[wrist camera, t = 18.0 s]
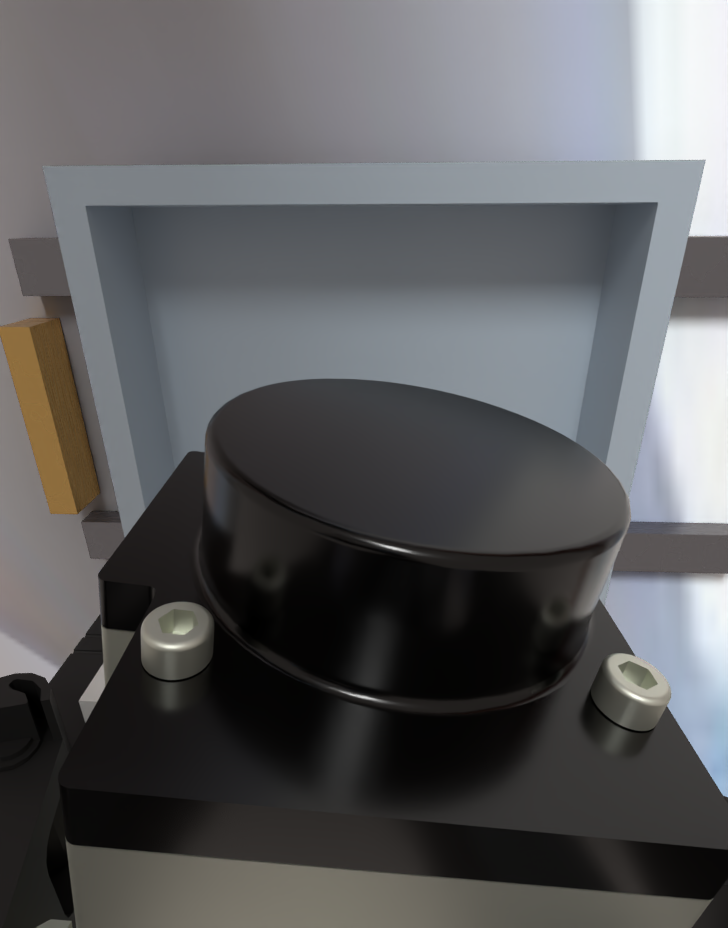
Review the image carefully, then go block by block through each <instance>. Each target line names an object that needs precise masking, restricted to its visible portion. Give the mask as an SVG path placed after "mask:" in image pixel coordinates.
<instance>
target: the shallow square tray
mask: <svg viewBox="0 0 728 928" xmlns="http://www.w3.org/2000/svg"><path fill="white" fill-rule="evenodd" d="M704 165H705V160H642V161H533V162H424V163H314V164H205V165H96V166H42V167H43V172H44V176H45V181H46V185H47V190H48V194H49V199H50V203H51V208H52V212H53V217H54V221H55V226H56V230H57V235H58V239H59V244H60V248H61V253H62V257H63V262H64V266H65V271H66V276H67V280H68V285H69V289H70V294H71V298H72V303H73V307H74V312H75V316H76V321H77V325H78V330H79V334H80V339H81V343H82V348H83V352H84V357H85V361H86V366H87V370H88V375H89V379H90V384H91V388H92V393H93V397H94V402H95V406H96V411H97V415H98V420H99V424H100V429H101V433H102V438H103V442H104V447H105V451H106V456H107V460H108V465H109V469H110V474H111V478H112V483H113V487H114V492H115V496H116V501H117V505H118V510H119V514H120V519H121V523H122V528H123V532H124V537H126V535H127V534H128V533H129V531H130V530H131V529H132V527H133V526H134V525H135V523H136V522H137V521H138V519H139V518H140V517H141V515H142V514H143V512H144V511H145V510H146V508H147V507H148V506H149V504H150V503H151V502H152V500H153V499H154V498H155V496H156V495H157V494H158V492H159V491H160V489H161V488H162V487H163V485H164V484H165V483H166V481H167V480H168V479H169V477H170V476H171V475H172V473H173V472H174V471H175V469H176V468H177V466H178V465H179V464H180V462H181V461H182V460H183V458H184V457H185V456H186V454H187V453H188V452H190V451H199V452H204V451H205V433H206V430H207V426H208V423H209V421H210V420H211V418H212V416H213V415H214V414H215V413H216V412H217V411H218V410H219V409H220V408H221V407H222V406H223V405H224V404H225V403H226V402H228V401H230V400H231V399H233V398H235V397H237V396H238V395H240V394H242V393H245V392H248V391H250V390H253V389H256V388H259V387H262V386H266V385H270V384H275V383H280V382H287V381H295V380H305V379H325V378H327V379H361V380H375V381H384V382H393V383H400V384H407V385H413V386H419V387H424V388H429V389H435V390H439V391H444V392H448V393H452V394H456V395H460V396H464V397H468V398H471V399H475V400H478V401H482V402H485V403H488V404H491V405H494V406H497V407H501V408H503V409H506V410H509V411H512V412H514V413H517V414H519V415H522V416H524V417H527V418H529V419H532V420H534V421H536V422H538V423H541V424H543V425H545V426H547V427H549V428H551V429H553V430H555V431H557V432H559V433H561V434H563V435H564V436H566V437H568V438H570V439H571V440H573V441H575V442H576V443H578V444H579V445H581V446H582V447H584V448H585V449H587V450H588V451H590V452H591V453H592V454H593V455H595V456H596V457H597V458H599V459H600V460H601V461H602V462H603V463H604V464H605V465H606V466H608V467H609V468H610V470H611V471H612V472H613V473H614V474H615V476H616V477H617V478H618V479H619V480H620V482H621V483H622V485H623V487H624V489H625V491H626V493H627V495H628V497H629V495H630V491H631V487H632V482H633V478H634V473H635V469H636V465H637V460H638V456H639V451H640V447H641V442H642V438H643V434H644V429H645V425H646V420H647V416H648V412H649V407H650V403H651V398H652V394H653V390H654V385H655V381H656V376H657V372H658V368H659V363H660V359H661V354H662V350H663V346H664V341H665V337H666V332H667V328H668V324H669V319H670V315H671V310H672V306H673V301H674V297H675V293H676V288H677V284H678V279H679V275H680V271H681V266H682V262H683V257H684V253H685V249H686V244H687V240H688V235H689V231H690V227H691V222H692V218H693V213H694V209H695V205H696V200H697V196H698V191H699V187H700V183H701V178H702V174H703V169H704ZM613 566H614V564H613ZM612 570H613V567H612V569H611V572H610V574H609V576H608V579H607V581H606V584H605V586H604V588H603V591H602V593H601V596H600V598H599V599H600V600H601V602H602V604H603V605H604V606H605V601H606V597H607V592H608V588H609V583H610V579H611V575H612Z"/></svg>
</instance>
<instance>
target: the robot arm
mask: <svg viewBox="0 0 728 928" xmlns="http://www.w3.org/2000/svg"><path fill="white" fill-rule="evenodd" d="M104 688H105V678H104V662H103V645H102V629H101V614H100V615H99V616H98V618H97V619H96V621H95V622H94V623H93V625H92V626H91V627H90V629H89V630H88V631H87V633H86V636H85V638H82V639H81V641H80V642H79V643H78V645H77V646H76V647H75V649H74V653H73V654H70V656H69V657H68V658H67V660H66V661H65V662H64V664H63V665H62V666H61V668H60V669H59V670H58V672H57V673H56V674H55V676H54V677H53V679H52V680H51V681H50V683H48V682H47V680H46V679H45V678H44V677H41V676H38V675H36V674H33V673H22V674H21V673H19V674H12V675H9V676H5V677H1V678H0V928H36V927H37V926H39V925H41V924H43V923H45V922H46V921H48V920H50V919H53V920H66V921H72V928H76V921H75V912H74V904H73V896H72V888H71V880H70V872H69V863H68V855H67V847H66V839H65V831H64V823H63V814H62V806H61V798H60V790H59V782H58V774H59V771H60V769H61V767H62V765H63V763H64V762H65V760H66V758H67V756H68V754H69V752H70V751H71V749H72V747H73V745H74V743H75V741H76V740H77V738H78V736H79V734H80V732H81V730H82V729H83V727H84V725H85V723H86V721H87V719H88V718H89V716H90V714H91V712H92V710H93V708H94V707H95V705H96V703H97V701H98V699H99V697H100V696H101V694H102V692H103V690H104ZM723 797H724V798H725V800H726V801H727V803H728V797H725V796H723ZM692 928H728V879H727V881H726V882H725V883H724V885H723V886H722V887H721V889H720V890H719V891H718V893H717V894H716V895H715V897H714V898H713V899H712V901H711V902H710V904H709V905H708V906H707V908H706V909H705V910H704V912H703V913H702V914H701V916H700V917H699V918H698V920H697V921H696V922H695V924H694V925H693V927H692Z"/></svg>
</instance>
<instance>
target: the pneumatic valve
mask: <svg viewBox="0 0 728 928" xmlns="http://www.w3.org/2000/svg"><path fill="white" fill-rule="evenodd" d="M630 521H631V510H630V501H629V497H628V495H627V493H626V491H625V489H624V487H623V485H622V483H621V482H620V480H619V479H618V478H617V477H616V476H615V474H614V473H613V472H612V471H611V470H610V468H609V467H608V466H606V465H605V464H604V463H603V462H602V461H601V460H600V459H599V458H597V457H596V456H595V455H593V454H592V453H591V452H590V451H588V450H587V449H585V448H584V447H582V446H581V445H579V444H578V443H576V442H575V441H573V440H571V439H570V438H568V437H566V436H564V435H563V434H561V433H559V432H557V431H555V430H553V429H551V428H549V427H547V426H545V425H543V424H541V423H538V422H536V421H534V420H532V419H529V418H527V417H524V416H522V415H519V414H517V413H514V412H512V411H509V410H506V409H503V408H501V407H497V406H494V405H491V404H488V403H485V402H482V401H478V400H475V399H471V398H468V397H464V396H460V395H456V394H452V393H448V392H444V391H439V390H435V389H429V388H424V387H419V386H413V385H407V384H400V383H393V382H384V381H375V380H361V379H327V378H325V379H305V380H295V381H287V382H280V383H275V384H270V385H266V386H262V387H259V388H256V389H253V390H250V391H248V392H245V393H242V394H240V395H238V396H237V397H235V398H233V399H231V400H230V401H228V402H226V403H225V404H224V405H223V406H222V407H221V408H220V409H219V410H218V411H217V412H216V413H215V414H214V415H213V416H212V418H211V420H210V421H209V423H208V426H207V430H206V433H205V451H204V452H199V451H190V452H188V453H187V454H186V456H185V457H184V458H183V460H182V461H181V462H180V464H179V465H178V466H177V468H176V469H175V471H174V472H173V473H172V475H171V476H170V477H169V479H168V480H167V481H166V483H165V484H164V485H163V487H162V488H161V489H160V491H159V492H158V494H157V495H156V496H155V498H154V499H153V500H152V502H151V503H150V504H149V506H148V507H147V508H146V510H145V511H144V512H143V514H142V515H141V517H140V518H139V519H138V521H137V522H136V523H135V525H134V526H133V527H132V529H131V530H130V531H129V533H128V534H127V535H126V537H125V538H124V540H123V541H122V542H121V544H120V545H119V546H118V548H117V549H116V550H115V552H114V553H113V554H112V556H111V557H110V558H109V560H108V561H107V563H106V564H105V565H104V567H103V568H102V569H101V571H100V572H99V574H98V580H99V597H100V613H101V629H102V645H103V662H104V678H105V688H104V690H103V692H102V694H101V696H100V697H99V699H98V701H97V703H96V705H95V707H94V708H93V710H92V712H91V714H90V716H89V718H88V719H87V721H86V723H85V725H84V727H83V729H82V730H81V732H80V734H79V736H78V738H77V740H76V741H75V743H74V745H73V747H72V749H71V751H70V752H69V754H68V756H67V758H66V760H65V762H64V763H63V765H62V767H61V769H60V771H59V774H58V782H59V790H60V798H61V806H62V814H63V823H64V831H65V839H66V847H67V855H68V863H69V872H70V880H71V888H72V896H73V904H74V912H75V921H76V928H692V927H693V925H694V924H695V922H696V921H697V920H698V918H699V917H700V916H701V914H702V913H703V912H704V910H705V909H706V908H707V906H708V905H709V904H710V902H711V901H712V899H713V898H714V897H715V895H716V894H717V893H718V891H719V890H720V889H721V887H722V886H723V885H724V883H725V882H726V881H727V879H728V803H727V801H726V800H725V798H724V797H723V795H722V793H721V792H720V790H719V789H718V787H717V785H716V784H715V782H714V781H713V779H712V777H711V776H710V774H709V773H708V771H707V770H706V768H705V766H704V765H703V763H702V762H701V760H700V758H699V757H698V755H697V754H696V752H695V750H694V749H693V747H692V746H691V744H690V742H689V741H688V739H687V738H686V736H685V734H684V733H683V731H682V730H681V728H680V726H679V725H678V723H677V722H676V720H675V718H674V717H673V715H672V714H671V712H670V710H669V709H668V707H667V704H668V703H669V701H670V698H671V689H670V686H669V684H668V682H667V680H666V678H665V677H664V676H663V675H662V674H661V673H660V672H659V671H658V670H657V669H656V668H655V667H654V666H652V665H651V664H649V663H648V662H646V661H644V660H642V659H640V658H638V657H636V656H635V655H634V653H633V651H632V650H631V648H630V647H629V645H628V643H627V642H626V640H625V639H624V637H623V635H622V634H621V632H620V631H619V629H618V627H617V626H616V624H615V623H614V621H613V619H612V618H611V616H610V615H609V613H608V611H607V610H606V608H605V607H604V605H603V604H602V602H601V600H600V599H599V598H600V596H601V593H602V591H603V588H604V586H605V584H606V581H607V579H608V576H609V574H610V572H611V569H612V567H613V564H614V562H615V560H616V557H617V555H618V552H619V550H620V548H621V545H622V543H623V540H624V538H625V536H626V533H627V531H628V529H629V525H630ZM36 928H72V921H66V920H53V919H50V920H48V921H46V922H45V923H43V924H41V925H39V926H37V927H36Z"/></svg>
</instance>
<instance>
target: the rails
mask: <svg viewBox="0 0 728 928" xmlns="http://www.w3.org/2000/svg"><path fill="white" fill-rule="evenodd" d="M9 243H10V247H11V251H12V255H13V259H14V263H15V266H16V270H17V274H18V278H19V282H20V286H21V290H22V294H23V296H71V294H70V289H69V285H68V280H67V276H66V271H65V266H64V262H63V257H62V253H61V248H60V244H59V239H58V238H20V239H9ZM675 297H728V236H688V240H687V244H686V249H685V253H684V257H683V262H682V266H681V271H680V275H679V279H678V284H677V288H676V293H675ZM0 336H1V340H2V343H3V347H4V350H5V354H6V357H7V361H8V364H9V368H10V371H11V375H12V379H13V382H14V386H15V389H16V393H17V396H18V400H19V403H20V407H21V410H22V414H23V417H24V421H25V425H26V428H27V432H28V435H29V439H30V442H31V446H32V449H33V453H34V456H35V460H36V463H37V467H38V471H39V474H40V478H41V481H42V485H43V488H44V492H45V495H46V499H47V502H48V506H49V509H50V513H51V514H78V513H79V512H80V511H82V510H83V509H84V508H85V507H86V506H87V505H88V504H89V503H90V502H91V501H92V500H93V499H94V498H95V497H96V496H97V495H98V494H100V490H99V485H98V481H97V477H96V473H95V468H94V464H93V460H92V456H91V451H90V447H89V443H88V439H87V434H86V430H85V426H84V421H83V417H82V413H81V409H80V404H79V400H78V396H77V392H76V387H75V383H74V379H73V375H72V370H71V366H70V362H69V357H68V353H67V349H66V345H65V340H64V336H63V332H62V328H61V323H60V319H59V318H29V319H25V320H22V321H18V322H15V323H11V324H7V325H4V326H0ZM81 523H82V527H83V531H84V534H85V538H86V542H87V546H88V550H89V554H90V558H93V559H109V558H110V557H111V556H112V554H113V553H114V552H115V550H116V549H117V548H118V546H119V545H120V544H121V542H122V541H123V540H124V538H125V537H124V532H123V528H122V523H121V519H120V514H119V512H105V511H92V512H91V513H90V514H89V515H88V516H87V517H86V518H85V519H84V520H83V521H82V522H81ZM612 571H644V572H687V573H728V524H715V523H664V522H630V525H629V529H628V531H627V533H626V536H625V538H624V540H623V543H622V545H621V548H620V550H619V552H618V555H617V557H616V560H615V562H614V566H613V570H612Z"/></svg>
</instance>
